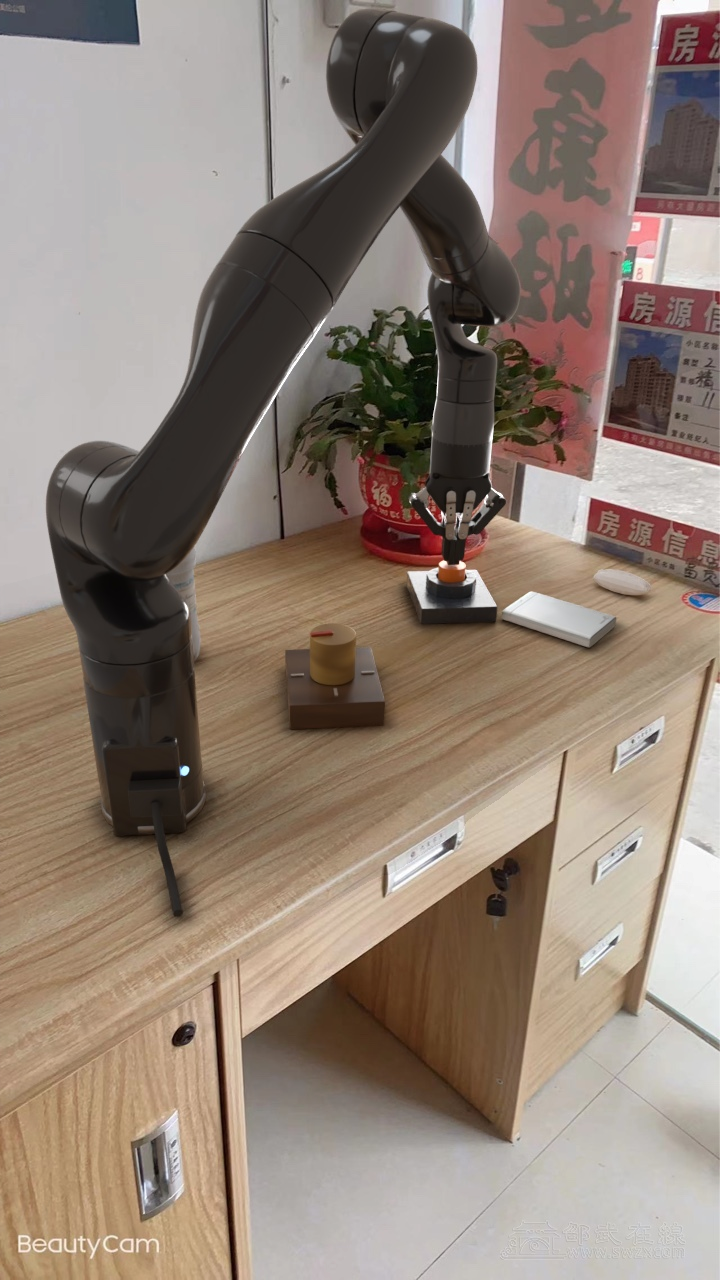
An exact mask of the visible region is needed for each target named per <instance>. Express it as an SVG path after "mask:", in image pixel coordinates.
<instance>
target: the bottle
mask: <svg viewBox="0 0 720 1280" xmlns="http://www.w3.org/2000/svg"><path fill="white" fill-rule="evenodd" d="M196 556H197V551H196V546H194V547H193V549H192V550H191V552H190V553H189V554H188V555H187V557H186V558H185V559H184V560H183V561H182V562H181V563H180V564H179V565H178V566H177V567H176V568H175V569H174V570H172V571H171V572H169V573H167V576H168V577H169V579H170V581H171V582H172V584H173V585H174V586H175V588H176V589H177V590H178V591H179V593H180V594H181V595H182V597H183V598H184V599H185V601H186V603H187V605H188V607H189V611H190V617H191V629H192V644H193V657H194V662H195V661H196V660H197V659H198V658H199V655H200V652H201V641H202V640H201V631H200V623H199V617H198V612H197V611H198V610H197V597H196V584H195V583H196V582H195V572H194V571H195V570H194V569H195V568H196V565H197V560H196Z"/></svg>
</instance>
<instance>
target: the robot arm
mask: <svg viewBox="0 0 720 1280" xmlns="http://www.w3.org/2000/svg"><path fill="white" fill-rule="evenodd" d="M325 66H326V67H325V82H326V83H325V84H326V92H327V97H328V101H329V104H330V107H331V109H332V112H333V114H334V115H335V116H334V117H336V120H337V122H338V123H339V125H340V126H341V127H342V129H343V131H344V132H345V133H346V135H347V136H348V138H349V139H350V140H351V141H352V143H353V144H354V146H353V147H352V148H351V149H350V150H349V151H348V152H346V153H345V154H344V155H343V156H341V157H340V158H339V159H338V160H336V161H335V162H333V163H332V164H330V165H328V166H326V167H325V168H324V169H322V170H320V171H319V172H316V173H315V174H313V175H312V176H310V177H308V178H306V179H304V180H303V181H301V182H299V183H298V184H296V185H294V186H292V187H290V188H289V189H287V190H285V191H283V192H282V193H280V194H279V195H277V196H276V197H274V198H272V199H271V200H270V201H268V202H267V203H266V204H264V205H262V206H261V207H260V208H258V209H257V210H256V211H255V212H254V213H253V214H252V215H251V216H249V218H248V219H247V220H245V222H244V223H243V224H242V226H241V227H240V229H239V230H238V232H237V233H236V234H235V236H234V238H233V239H232V240H231V242H230V244H229V245H228V247H227V248H226V250H225V251H224V252H223V254H222V256H221V257H220V259H219V260H218V262H217V263H216V265H215V267H214V268H213V269H212V271H211V272H210V275H209V276H208V278H207V279H206V281H205V283H204V285H203V287H202V290H201V292H200V295H199V298H198V302H197V305H196V309H195V316H194V321H193V328H192V335H191V343H190V353H189V359H188V365H187V370H186V374H185V377H184V380H183V383H182V385H181V387H180V389H179V392H178V395H177V396H176V398H175V400H174V401H173V403H172V404H171V407H170V408H169V410H168V411H167V413H166V414H165V416H164V417H163V419H162V421H161V422H160V424H159V425H158V427H157V429H155V431H154V433H153V434H152V435H151V436H150V438H149V440H148V441H147V442H146V443H145V444H144V446H143V447H142V448H141V449H140V450H138V449H135V448H132V447H129V446H127V445H124V444H121V443H118V442H114V441H109V440H91V441H88V442H87V441H86V442H84V443H81V444H78V445H77V446H74V447H73V448H71V449H70V450H68V451H67V452H65V454H64V455H63V456H61V458H60V459H59V460H58V462H57V463H56V465H55V467H54V468H53V470H52V472H51V475H50V477H49V479H48V483H47V488H46V494H45V518H46V520H45V521H46V525H47V532H48V538H49V539H48V540H49V545H50V549H51V554H52V559H53V565H54V569H55V574H56V579H57V583H58V588H59V594H60V598H61V601H62V605H63V607H64V610H65V612H66V614H67V617H68V619H69V621H70V622H71V624H72V626H73V627H74V630H75V634H76V638H77V644H78V651H79V657H80V665H81V671H82V678H83V686H84V692H85V700H86V706H87V707H86V708H87V712H88V713H87V714H88V720H89V727H90V733H91V740H92V747H93V753H94V761H95V767H96V773H97V780H98V785H99V792H100V807H101V813H102V817H103V818H104V819H105V821H106V822H107V823H108V824H110V826H111V827H112V829H113V830H112V831H113V835H114V836H115V837H123V836H124V837H125V836H138V835H139V836H140V835H141V836H142V835H145V836H146V835H155V840H156V846H157V849H158V853H159V857H160V860H161V864H162V868H163V872H164V875H165V879H166V880H165V881H166V884H167V889H168V893H169V898H170V899H169V900H170V904H171V909H172V915H173V916H174V917H175V918H179V917H181V916H182V915H184V911H183V907H182V906H183V905H182V902H181V896H180V891H179V886H178V882H177V878H176V874H175V869H174V866H173V862H172V859H171V855H170V852H169V848H168V844H167V840H166V834H177V833H184V832H185V831H186V829H187V824H188V823H189V822H191V821H192V820H193V819H195V817H197V816H198V815H199V814H200V812H201V811H202V809H203V808H204V806H205V803H206V797H207V796H206V794H207V793H206V785H205V781H204V771H203V770H204V769H203V760H202V748H201V747H202V746H201V736H200V721H199V710H198V698H197V696H198V695H197V686H196V685H197V684H196V675H195V661H194V657H193V644H192V629H191V617H190V611H189V607H188V605H187V603H186V601H185V599H184V598H183V597H182V595H181V594H180V593H179V591H178V590H177V589H176V588H175V586H174V585H173V584H172V582H171V581H170V579H169V577H168V576H167V573H169V572H171V571H172V570H174V569H175V568H176V567H177V566H178V565H179V564H180V563H181V562H182V561H183V560H184V559H185V558H186V557H187V555H188V554H189V553H190V552H191V550H192V549H193V547H196V545H197V543H198V541H199V540H200V538H201V536H202V534H203V533H204V531H205V529H206V527H207V525H208V523H209V521H210V519H211V517H212V515H213V513H214V511H215V509H216V508H217V505H218V503H219V501H220V499H221V497H222V495H223V493H224V492H225V489H226V487H227V485H228V483H229V481H230V480H231V477H232V476H233V474H234V471H235V469H236V468H237V465H238V463H239V461H240V459H241V457H242V455H243V453H244V451H246V448H247V447H248V444H249V442H250V440H251V438H252V437H253V435H254V433H255V432H256V430H257V428H258V427H259V425H260V424H261V422H262V420H263V419H264V417H265V416H266V414H267V412H268V410H269V409H270V407H271V405H272V404H273V402H274V401H275V399H276V397H277V396H278V393H279V392H280V390H281V389H282V387H283V385H284V384H285V382H286V380H287V378H288V377H289V376H290V374H291V372H292V371H293V369H294V368H295V366H296V365H297V363H298V362H299V360H300V359H301V357H302V356H303V355H304V354H305V352H306V351H307V349H308V348H309V346H310V345H311V343H312V342H313V340H314V339H315V337H316V336H317V334H318V333H319V331H320V329H321V328H322V326H323V325H324V323H325V322H326V320H327V318H328V317H329V315H330V314H331V312H332V310H333V309H334V307H335V305H336V304H337V302H338V300H339V299H340V297H341V295H342V294H343V292H344V290H345V288H346V287H347V285H348V283H349V282H350V280H351V278H352V277H353V275H354V274H355V272H356V271H357V269H358V267H359V266H360V264H361V263H362V261H363V259H364V258H365V257H366V255H367V253H369V251H370V249H371V248H372V246H373V245H374V243H375V242H376V240H377V238H378V237H379V235H380V234H381V233H382V232H383V230H384V228H385V227H386V226H387V224H388V223H389V222H390V220H391V218H393V216H394V215H395V213H396V212H397V211H398V209H400V210H401V212H402V214H403V215H404V217H405V219H406V222H407V223H408V225H409V226H410V229H411V231H412V233H413V235H414V237H415V240H416V242H417V244H418V246H419V247H418V248H419V249H420V252H421V254H422V256H423V259H424V260H425V262H426V265H427V267H428V269H429V271H430V273H431V274H430V276H429V279H428V284H427V305H428V310H429V315H430V320H431V324H432V328H433V334H434V339H435V346H436V347H435V348H436V354H437V366H438V367H437V383H436V385H437V386H436V398H435V403H434V410H433V414H432V416H433V417H432V423H431V446H430V461H429V462H430V463H429V474H428V476H427V478H426V480H425V482H424V487H423V488H422V489H420V490H419V491H417V493H415V492H411V493H410V494H409V495H408V501H409V503H410V505H411V507H412V508H413V509H414V511H415V513H417V514H418V516H419V518H420V519H421V520H422V522H424V524H425V526H427V528H428V529H429V530H430V532H431V533H432V534H433V535H434V536H440V537H441V552H440V554H441V557H442V560H443V561H446V562H447V564H448V565H459V561H461V562H463V561H464V558H465V553H466V542H467V541H466V540H467V538H468V537H470V536H472V535H475V536H476V535H480V534H481V532H483V530H484V529H485V528H486V527H487V526H488V525H489V524H490V523H491V521H492V520H493V519H494V518H495V517H496V516H497V514H499V513H500V511H501V510H502V509H503V508H504V507H505V506H506V504H507V500H506V499H505V497H504V496H503V494H502V493H501V492H499V491H496V490H495V489H494V488H493V484H492V481H491V479H490V470H491V459H492V458H491V457H492V449H493V439H494V438H493V435H494V426H495V393H496V383H497V373H498V356H497V354H496V353H495V351H494V350H492V349H491V348H489V347H486V346H483V345H481V344H478V343H475V342H474V341H472V340H470V339H469V338H468V337H467V336H466V334H465V331H464V329H463V326H475V327H485V328H497V327H501V326H503V325H506V324H508V322H509V321H510V320H512V318H513V317H514V316H515V314H516V313H517V311H518V309H519V306H520V303H521V295H522V293H521V292H522V291H521V290H522V289H521V281H520V277H519V274H518V271H517V269H516V267H515V265H514V263H513V262H512V261H511V258H510V257H509V256H508V255H507V254H506V253H505V252H504V250H503V249H502V248H501V247H500V246H499V244H498V243H497V242H496V241H495V240H494V239H493V237H492V236H491V235H489V232H488V229H487V225H486V222H485V219H484V215H483V212H482V209H481V207H480V204H479V201H478V199H477V198H476V196H475V194H474V191H473V190H472V189H471V187H470V186H469V184H468V183H467V182H466V181H465V179H464V178H463V177H462V176H461V174H460V173H459V172H458V171H457V170H456V169H455V168H454V166H453V165H452V164H451V163H450V162H449V161H448V160H447V159H446V157H444V156H443V153H444V151H445V150H446V149H447V147H448V146H449V144H450V143H451V141H452V140H453V138H454V136H455V134H456V133H457V131H458V130H459V128H460V126H461V125H462V123H463V120H464V118H465V116H466V114H467V112H468V109H469V107H470V104H471V102H472V99H473V96H474V91H475V86H476V82H477V77H478V55H477V51H476V48H475V44H474V42H473V41H472V39H471V38H470V36H469V35H468V34H467V33H466V32H465V31H464V30H462V29H461V28H459V27H457V26H455V25H453V24H450V23H449V22H446V21H443V20H440V19H436V18H431V17H427V16H421V15H416V14H411V13H407V12H401V11H396V10H391V9H385V8H378V7H377V8H376V7H367V8H361V9H360V8H359V9H358V10H355V11H353V12H351V13H350V14H348V15H347V16H346V17H345V18H344V19H343V21H342V22H341V23H340V25H339V26H338V27H337V29H336V31H335V33H334V35H333V37H332V40H331V43H330V46H329V50H328V54H327V59H326V65H325ZM462 325H463V326H462ZM429 497H430V498H431V499H432V501H433V502H434V504H435V505H436V507H437V508H438V510H439V511H441V512H440V514H441V522H439V521H438V520H437V519H436V518H435V517H434V515H433V514H432V513H431V511H430V509H428V508H429V507H430V501H429ZM483 501H484V504H483V505H482V506H481V507H480V508H479V509H478V510H477V512H476V513H475V514H474V515H473V512H474V511H475V510H476V509H477V508H478V507H479V505H480V504H481V503H482V502H483Z"/></svg>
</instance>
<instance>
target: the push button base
mask: <svg viewBox="0 0 720 1280" xmlns="http://www.w3.org/2000/svg"><path fill="white" fill-rule="evenodd" d="M438 569H439V566H438V567H435V568H431V569H430V570H416V571H415V570H414V571H413V570H412V571H411V570H410V571H407V572H406V583H405V584H406V588H407V591H408V593H409V596H410V598H411V602H412V604H413V606H414V610H415V612H416V615H417V618H418V619H419V622H420V624H421V625H431V624H432V625H433V624H459V623H461V624H462V623H489V622H490V623H492V622H493V623H494V622H497V615H498V614H497V613H498V605H497V603H496V602H495V599H494V598H493V596H492V595H491V593H490V591H489V589H488V588H487V585H486V584H485V582H484V580H483V579H482V577H481V575H480V573H479V571H478V570H477V569H465V580H464V581H462V582H459V583H449V582H443V581H441V580H439V579H438Z"/></svg>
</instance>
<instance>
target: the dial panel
mask: <svg viewBox="0 0 720 1280" xmlns="http://www.w3.org/2000/svg"><path fill="white" fill-rule="evenodd" d="M284 659H285V681H286V682H285V683H286V695H287V697H286V698H287V708H288V719H289V720H288V722H289V723H288V724H289V730H304V729H305V730H306V729H308V730H309V729H328V728H329V729H330V728H351V727H352V728H353V727H371V726H372V727H374V726H384V725H385V711H386V700H385V697H384V693H383V689H382V684H381V681H380V677H379V673H378V669H377V666H376V661H375V657H374V653H373V650H372V647H371V646H363V647H362V646H359V647H357V646H356V668H355V677H354V678H353V679H352V680H351V681H350V682H348V683H345V684H341V685H324V684H320V683H318V682H316V681H314V680H313V679H312V678H311V676H310V648H302V649H301V648H300V649H299V648H298V649H285V650H284Z"/></svg>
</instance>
